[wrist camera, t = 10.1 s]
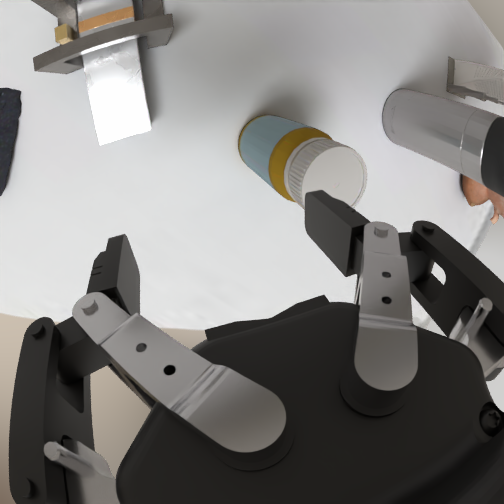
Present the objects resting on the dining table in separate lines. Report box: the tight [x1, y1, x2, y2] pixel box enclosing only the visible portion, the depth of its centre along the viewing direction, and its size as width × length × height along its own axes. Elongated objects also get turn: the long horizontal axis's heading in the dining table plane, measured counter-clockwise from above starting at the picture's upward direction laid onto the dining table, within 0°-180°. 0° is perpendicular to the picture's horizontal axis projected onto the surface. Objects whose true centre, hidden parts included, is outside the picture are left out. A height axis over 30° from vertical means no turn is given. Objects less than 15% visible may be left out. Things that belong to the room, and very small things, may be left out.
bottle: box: [238, 115, 367, 210], centre depth 27 cm, size 7×7×15 cm
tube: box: [77, 0, 151, 145], centre depth 19 cm, size 20×5×5 cm, turn 6°
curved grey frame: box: [32, 0, 174, 74], centre depth 16 cm, size 11×8×10 cm
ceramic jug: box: [462, 175, 504, 224], centre depth 43 cm, size 18×14×14 cm
